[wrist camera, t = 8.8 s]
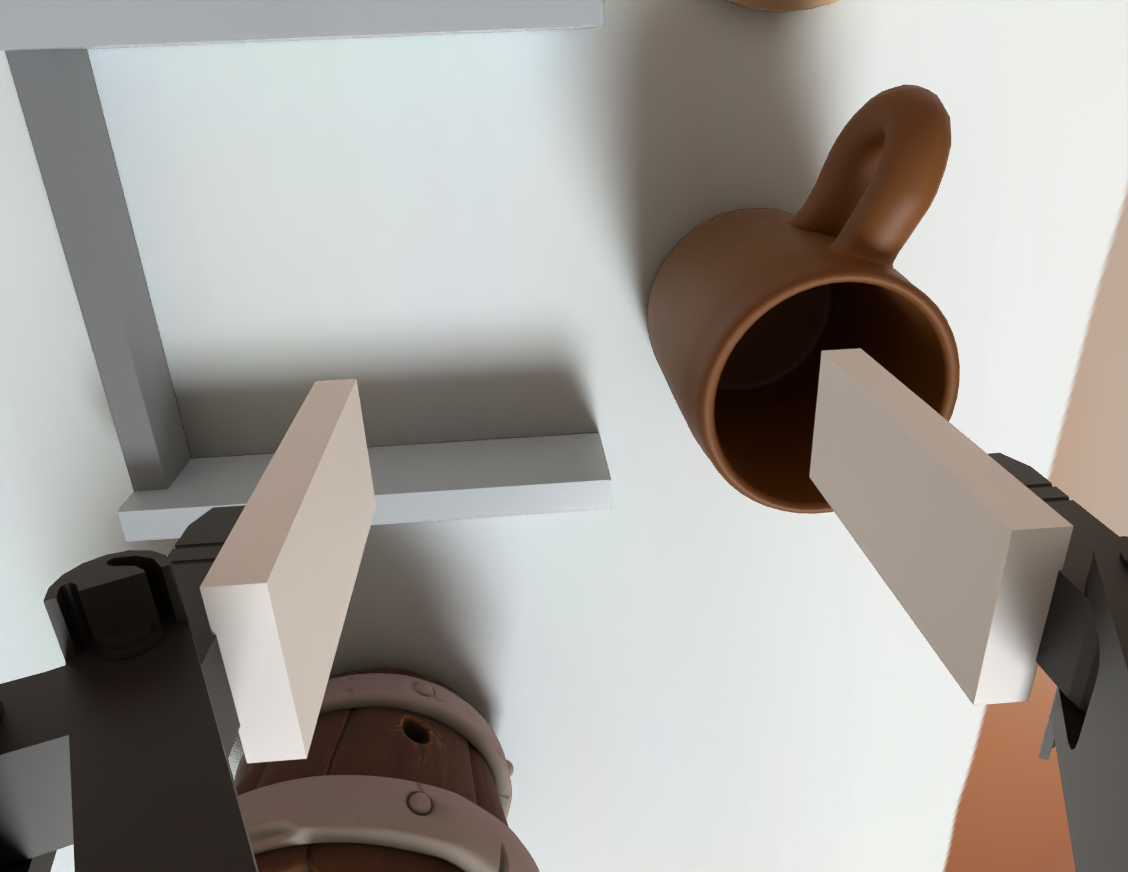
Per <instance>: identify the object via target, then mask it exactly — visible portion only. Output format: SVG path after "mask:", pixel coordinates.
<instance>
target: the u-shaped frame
mask: <svg viewBox="0 0 1128 872" xmlns="http://www.w3.org/2000/svg"><path fill="white" fill-rule="evenodd" d="M601 25H604V7H603V0H0V51H5V53H6V56H7V59H8V63H9V66H10V70H11V73H12V76H13V80H14V83H15V87H16V90H17V94H18V97H19V100H20V104H21V107H22V111H23V114H24V117H25V121H26V124H27V128H28V131H29V134H30V138H31V141H32V145H33V148H34V152H35V155H36V158H37V162H38V165H39V169H40V172H41V175H42V179H43V182H44V186H45V189H46V192H47V196H48V199H49V203H50V206H51V210H52V213H53V216H54V220H55V223H56V227H57V230H58V233H59V237H60V240H61V244H62V247H63V250H64V254H65V257H66V261H67V264H68V268H69V271H70V274H71V278H72V281H73V285H74V288H75V291H76V295H77V298H78V302H79V305H80V309H81V312H82V315H83V319H84V322H85V326H86V329H87V332H88V336H89V339H90V343H91V346H92V349H93V353H94V356H95V360H96V363H97V367H98V370H99V373H100V377H101V380H102V384H103V387H104V390H105V394H106V397H107V401H108V404H109V407H110V411H111V414H112V418H113V421H114V425H115V428H116V431H117V435H118V438H119V442H120V445H121V448H122V452H123V455H124V459H125V462H126V465H127V469H128V472H129V476H130V479H131V483H132V486H133V489H134V492H133V493H132V495H131V496H130V497H129V498H128V499H127V501H126V502H125V503H124V504H123V505H122V507H121V508H120V509H119V510H118V511H117V515H118V518H119V521H120V524H121V528H122V531H123V534H124V537H125V541H126V542H131V541H146V540H160V539H175V538H180V537H181V536H182V534H183V533H184V531H185V530H186V528H187V527H188V525H190V524H191V523H192V522H194V521H195V520H196V519H198V518H199V517H201V516H202V515H203V514H205V513H206V512H207V511H209V510H210V509H212V508H213V507H227V506H242V505H246V504H247V502H248V500H249V499H250V497H251V495H252V493H253V491H254V490H255V488H256V486H257V484H258V483H259V481H260V479H261V477H262V475H263V474H264V472H265V470H266V468H267V466H268V465H269V463H270V461H271V459H272V458H273V456H274V454H275V453H272V454H256V455H240V456H224V457H209V458H193V459H191V456H190V452H189V448H188V445H187V441H186V437H185V433H184V429H183V425H182V421H181V417H180V413H179V409H178V405H177V401H176V397H175V394H174V390H173V386H172V382H171V378H170V374H169V370H168V366H167V362H166V358H165V354H164V350H163V347H162V343H161V339H160V335H159V331H158V327H157V323H156V319H155V315H154V311H153V307H152V303H151V300H150V296H149V292H148V288H147V284H146V280H145V276H144V272H143V268H142V264H141V260H140V256H139V252H138V249H137V245H136V241H135V237H134V233H133V229H132V225H131V221H130V217H129V213H128V209H127V205H126V202H125V198H124V194H123V190H122V186H121V182H120V178H119V174H118V170H117V166H116V162H115V158H114V154H113V151H112V147H111V143H110V139H109V135H108V131H107V127H106V123H105V119H104V115H103V111H102V107H101V104H100V100H99V96H98V92H97V88H96V84H95V80H94V76H93V72H92V68H91V64H90V60H89V57H88V53H87V49H99V48H123V47H147V46H171V45H195V44H219V43H244V42H268V41H292V40H316V39H340V38H364V37H388V36H412V35H436V34H461V33H485V32H509V31H533V30H557V29H581V28H593V27H597V26H601ZM367 450H368V456H369V463H370V469H371V476H372V482H373V489H374V495H375V502H376V508H375V512H374V515H373V519H372V523H371V525H382V524H397V523H411V522H426V521H441V520H456V519H470V518H485V517H500V516H515V515H530V514H544V513H559V512H574V511H589V510H603V509H612V498H611V477H610V473H609V469H608V465H607V461H606V457H605V453H604V449H603V445H602V441H601V438H600V434H599V433H586V434H571V435H555V436H539V437H523V438H508V439H492V440H476V441H460V442H445V443H429V444H413V445H398V446H382V447H367Z"/></svg>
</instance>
